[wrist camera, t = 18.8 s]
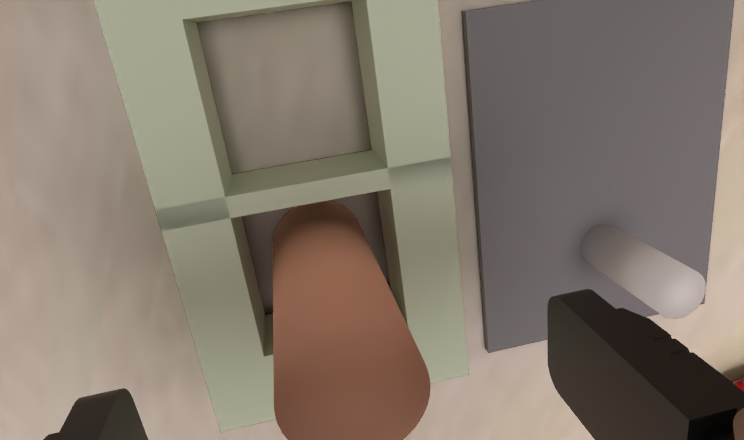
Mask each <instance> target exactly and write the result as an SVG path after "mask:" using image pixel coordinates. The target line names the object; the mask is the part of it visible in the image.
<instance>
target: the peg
mask: <svg viewBox="0 0 744 440" xmlns="http://www.w3.org/2000/svg"><path fill="white" fill-rule="evenodd" d="M273 372H274V412H275V417H276V420H277V423H278V425H279V427H280V429H281V431H282V433H283V434H284V435H285V437H286V438H287V439H288V440H403V439H404V438H405V437H406V436H407V435H408V434H409V433H410V432H411V431H412V430H413V429H414V428H415V426H416V425H417V424H418V422H419V421H420V419H421V418H422V416H423V414H424V412H425V409H426V407H427V404H428V400H429V396H430V378H429V373H428V369H427V367H426V364H425V362H424V360H423V358H422V355H421V353H420V351H419V349H418V347H417V345H416V343H415V341H414V339H413V336H412V334H411V332H410V330H409V328H408V326H407V324H406V322H405V320H404V317H403V315H402V313H401V311H400V309H399V307H398V305H397V303H396V300H395V298H394V296H393V294H392V292H391V290H390V288H389V286H388V284H387V281H386V279H385V277H384V275H383V273H382V271H381V269H380V267H379V265H378V262H377V260H376V258H375V256H374V254H373V252H372V250H371V248H370V246H369V243H368V241H367V239H366V237H365V235H364V233H363V231H362V229H361V227H360V224H359V223H358V221H357V219H356V218H355V217H354V215H353V214H352V213H351V212H350V211H348V210H347V209H346V208H344V207H342V206H341V205H338V204H336V203H333V202H329V201H322V202H317V203H311V204H306V205H300V206H297V207H295V208H293V209H292V210H290V211H289V212H288V213H287V214H286V215H285V216H284V217H283V218H282V219H281V220H280V222H279V224H278V225H277V227H276V230H275V232H274V236H273Z"/></svg>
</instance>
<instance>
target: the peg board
mask: <svg viewBox="0 0 744 440" xmlns="http://www.w3.org/2000/svg"><path fill="white" fill-rule="evenodd" d="M93 1H94V4H95V8H96V11H97V15H98V18H99V21H100V25H101V28H102V32H103V35H104V38H105V42H106V45H107V49H108V52H109V55H110V59H111V62H112V66H113V69H114V72H115V76H116V79H117V82H118V86H119V89H120V93H121V96H122V99H123V103H124V106H125V110H126V113H127V116H128V120H129V123H130V127H131V130H132V133H133V137H134V140H135V144H136V147H137V150H138V154H139V157H140V161H141V164H142V167H143V171H144V174H145V177H146V181H147V184H148V188H149V191H150V194H151V198H152V201H153V205H154V208H155V211H156V215H157V218H158V222H159V225H160V228H161V232H162V235H163V239H164V242H165V245H166V249H167V252H168V256H169V259H170V262H171V266H172V269H173V272H174V276H175V279H176V283H177V286H178V289H179V293H180V296H181V300H182V303H183V306H184V310H185V313H186V317H187V320H188V323H189V327H190V330H191V334H192V337H193V340H194V344H195V347H196V351H197V354H198V357H199V361H200V364H201V367H202V371H203V374H204V378H205V381H206V384H207V388H208V391H209V395H210V398H211V401H212V405H213V408H214V412H215V415H216V418H217V422H218V425H219V429H220V432H224V431H228V430H233V429H237V428H241V427H246V426H250V425H254V424H259V423H263V422H267V421H271V420H276V417H275V412H274V372H273V314H269V315H265V313H264V309H263V305H262V301H261V296H260V292H259V288H258V284H257V279H256V275H255V271H254V267H253V262H252V258H251V254H250V249H249V245H248V241H247V237H246V232H245V228H244V224H243V220H242V216H246V215H251V214H257V213H262V212H268V211H273V210H279V209H284V208H289V207H295V206H300V205H306V204H311V203H317V202H322V201H328V200H333V199H339V198H344V197H349V196H355V195H360V194H366V193H371V192H377V193H378V201H379V208H380V215H381V222H382V230H383V237H384V244H385V252H386V259H387V266H388V274H389V281H390V288H391V289H390V290H391V292H392V294H393V296H394V298H395V300H396V303H397V305H398V307H399V309H400V311H401V313H402V315H403V317H404V320H405V322H406V324H407V326H408V328H409V330H410V332H411V334H412V336H413V339H414V341H415V343H416V345H417V347H418V349H419V351H420V353H421V355H422V358H423V360H424V362H425V364H426V367H427V369H428V373H429V378H430V384H431V383H435V382H439V381H444V380H448V379H452V378H456V377H461V376H465V375H469V368H468V356H467V344H466V332H465V320H464V308H463V296H462V284H461V272H460V260H459V248H458V236H457V224H456V212H455V200H454V188H453V176H452V164H451V152H450V140H449V128H448V116H447V104H446V92H445V80H444V68H443V56H442V44H441V32H440V20H439V8H438V0H93ZM349 1H351V3H352V10H353V17H354V25H355V32H356V39H357V47H358V54H359V61H360V69H361V76H362V83H363V91H364V98H365V105H366V113H367V120H368V127H369V135H370V142H371V149H372V150H369V151H363V152H357V153H351V154H346V155H340V156H334V157H328V158H322V159H317V160H311V161H305V162H299V163H294V164H288V165H282V166H276V167H271V168H265V169H259V170H253V171H247V172H242V173H236V174H232V173H231V169H230V164H229V160H228V156H227V152H226V147H225V143H224V139H223V134H222V130H221V126H220V122H219V117H218V113H217V109H216V105H215V100H214V96H213V92H212V88H211V83H210V79H209V75H208V71H207V66H206V62H205V58H204V54H203V49H202V45H201V41H200V37H199V32H198V28H197V24H196V22H203V21H210V20H218V19H225V18H232V17H240V16H247V15H254V14H262V13H269V12H276V11H283V10H291V9H298V8H305V7H313V6H320V5H327V4H335V3H342V2H349Z"/></svg>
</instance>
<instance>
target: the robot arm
mask: <svg viewBox="0 0 744 440" xmlns="http://www.w3.org/2000/svg"><path fill="white" fill-rule="evenodd" d="M547 324H548V366H549V372H550V375H551V378H552V381H553V384H554V386H555V388H556V390H557V391H558V393H559V394H560V396H561V397H562V398H563V400H564V401H565V402H566V403H567V405H568V406H569V407H570V409H571V410H572V411H573V412H574V414H575V415H576V416H577V417H578V419H579V420H580V421H581V423H582V424H583V425H584V426H585V428H586V429H587V430H588V431H589V433H590V434H591V435H592V436H593V438H594V439H595V440H744V391H743V390H741V389H740V388H739V387H737V386H736V385H735V384H733V383H732V382H731V381H730V380H728V379H727V378H726V377H724V376H723V375H722V374H720V373H719V372H718V371H717V370H715V369H714V368H713V367H711V366H710V365H709V364H707V363H706V362H705V361H704V360H702V359H701V358H700V357H698V356H697V355H696V354H694V353H690V352H689V350H688V348H687V347H685V346H684V345H683V344H681V343H680V342H679V341H678V340H676V339H672V338H671V335H670V334H668V333H667V332H666V331H665V330H663V329H662V328H661V327H659V326H658V325H657V324H655V323H654V322H653V321H652V320H650V319H648V318H646V317H643V316H641V315H639V314H636V313H634V312H631V311H629V310H627V309H624V308H618V309H615V308H614V307H613V306H612V305H610V304H609V303H608V302H607V301H605V300H604V299H603V298H602V297H601V296H599V295H598V294H597V293H596V292H594V291H593V290H591V289H584V290H579V291H575V292H570V293H565V294H561V295H556V296H552V297H551V298H550V299H549V301H548V306H547ZM44 440H148V438H147V436H146V433H145V430H144V428H143V425H142V422H141V419H140V417H139V414H138V411H137V409H136V406H135V403H134V401H133V398H132V396H131V394H130V392H129V391H128V390H127V389H124V388H123V389H118V390H114V391H109V392H105V393H100V394H95V395H91V396H86V397H82V398H79V399H78V400H77V401H76V402H75V404H74V405H73V407H72V409H71V411H70V413H69V415H68V417H67V419H66V421H65V423H64V425H63V426H62V428H61V430H60V432H59V433H54V434H50V435H48V436H47V437H46V438H45V439H44Z"/></svg>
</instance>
